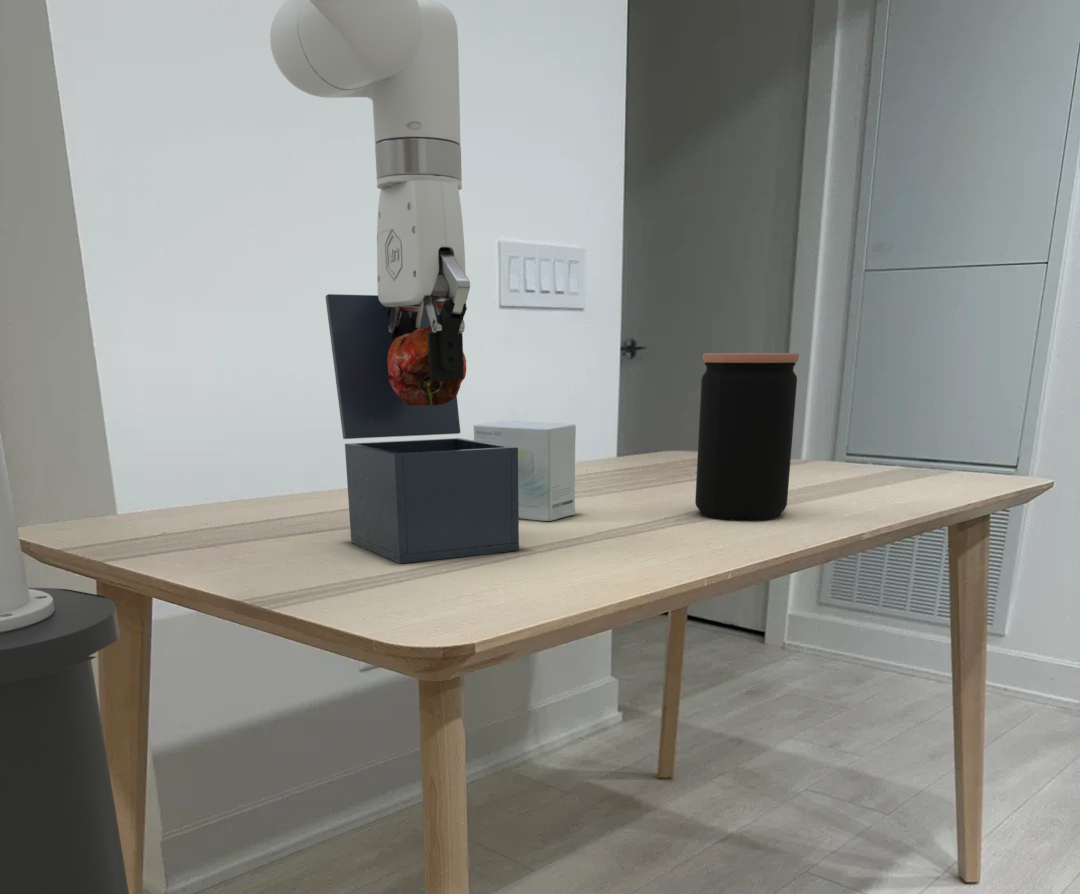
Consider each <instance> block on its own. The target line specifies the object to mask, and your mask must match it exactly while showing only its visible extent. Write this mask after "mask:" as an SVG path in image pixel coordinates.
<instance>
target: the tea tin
mask: <svg viewBox="0 0 1080 894" xmlns="http://www.w3.org/2000/svg"><path fill="white" fill-rule="evenodd" d="M344 449H345V450H344V454H345V466H346V482H347V483H346V484H347V498H348V512H349V515H348V516H349V526H350V528H349V529H350V540H351V541H350V543H352V544H354V545H356V546H359V547H361V548H363V549H365V550H368V551H370V552H373V553H374V554H377V555H379V556H382V557H384V558H386V559H388V560H391V561H393V562H396V563H398V564H400V565H401V564H409V563H420V562H428V561H437V560H446V559H454V558H465V557H475V556H482V555H492V554H499V553H508V552H517V551H520V529H519V528H520V525H519V521H520V518H519V511H518V448H517V447H511V446H505V445H499V444H493V443H486V442H480V441H474V439H468V438H467V439H466V438H461V437H454V438H453V437H452V438H451V437H450V438H433V439H432V438H431V439H429V438H428V439H413V440H412V439H410V440H391V441H390V440H389V441H370V442H369V441H367V442H351V443H350V442H349V443H344Z"/></svg>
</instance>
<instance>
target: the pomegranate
mask: <svg viewBox="0 0 1080 894" xmlns="http://www.w3.org/2000/svg"><path fill="white" fill-rule="evenodd" d="M428 333H433V331H432V328H431V327H420V328H418V329H417V330H415V331H414V332H412V333H406V334H404V335H402V336H399V337H397V338H396V339H395V340H394V341H393V342H392V344H391V346H390V349H389V352H388V357H387V361H388V375H389V382H390V385H391V387H392V389H393V391H394V392H395V394H396V395H398V396H399V397H400V398H401V399H402V400H403V401H404V402H405V403H406V404H408V405H413V406H414V405H431V408H432V405H436V406H437V405H441V404H444V403H447V402H449V401H451V400H452V399H454V398H455V397H456V396H457V397H458V394H459V391H460V388H461V385H462V382H463V381H464V379H465V378H466V375H467V359H466V355H465V352H463V373H464V376H463V378H462V379H461V380H431V379H430V376H429V353H428Z"/></svg>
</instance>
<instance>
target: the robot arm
mask: <svg viewBox="0 0 1080 894" xmlns="http://www.w3.org/2000/svg"><path fill="white" fill-rule="evenodd" d="M269 39H270V40H269V41H270V42H269V43H270V50H271V53H272V57H273V59H274V61H275V64H276V66H277V68H278V69H279V71H280V72H281V74H282V75H283V77H284V78H285V79H286V80H287V81H288V82H289V83H290V84H291V85H293V86H294V87H295V88H296V89H298V90H300V91H302V92H304V93H306V94H308V95H311V96H314V97H319V98H325V99H334V98H335V99H337V98H339V99H340V98H341V99H342V98H343V99H344V98H368V99H370V100H371V101H372V115H373V116H372V117H373V118H372V119H373V134H374V136H373V137H374V154H375V155H374V157H375V174H376V175H375V176H376V188H377V189H379V197H378V206H377V220H376V221H377V223H376V224H377V226H376V262H377V263H376V272H377V273H376V274H377V281H376V282H377V295H378V299H379V301H380V303H381V304H382V305H383V306H385V307H387V310H386V314H387V315H388V318H389V326H388V328H389V332H390V336H391V344H392V342H393V341H394V340H395V339H396V338H397V337H399V336H402V335H404V334H406V333H412V332H414V331H415V330H417V329H418V328H420V323H421V318H422V313H423V308H426V311H427V314H428V317H429V321H430V324H431V328H432V331H433V333H428V353H429V376H430V379H431V380H461V379H462V378H463V376H464V373H463V353H464V340H463V338H464V337H463V334H464V333H465V330H466V329H465V327H466V326H465V325H466V323H465V320H464V318H465V315H466V312H467V310H468V307H467V300H468V296H469V292H470V288H471V281H470V279H469V277H468V276H467V275H466V253H465V251H466V250H465V237H464V224H463V214H462V206H461V205H462V204H461V197H460V190H462V188H463V186H462V185H463V184H462V182H463V181H462V147H461V111H460V110H461V109H460V108H461V107H460V73H459V71H460V70H459V66H460V65H459V36H458V25H457V21H456V17H455V15H454V13H453V12H452V11H451V10H450V9H449V7H447V6H446V5H445V4H443V3H441V2H438V1H435V0H285V1H284V2H283V3H282V4H281V6H280V7H279V8H278V10H277V11H276V13H275V15H274V17H273V20H272V22H271V26H270V34H269ZM438 309H442V310H441V313H440V314H439V311H438ZM409 312H412V315H411V317H410V315H409ZM28 588H29V584H28V580H27V573H26V569H25V563H24V557H23V551H22V545H21V540H20V534H19V529H18V524H17V518H16V512H15V507H14V500H13V495H12V489H11V484H10V479H9V473H8V468H7V461H6V456H5V450H4V445H3V439H2V433H0V633H4V632H9V631H13V630H17V629H21V628H24V627H27V626H30V625H33V624H36V623H39V622H41V621H43V620H45V619H47V618H48V617H50V616H51V615H52V614H53V612H54V611H55V608H54V602H53V598H52V597H51V595H49V594H47V593H45V592H42V591H38V590H33V589H28Z"/></svg>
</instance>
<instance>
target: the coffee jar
mask: <svg viewBox="0 0 1080 894" xmlns="http://www.w3.org/2000/svg"><path fill="white" fill-rule="evenodd" d="M799 357H800V354H799V353H795V352H760V353H759V352H758V353H757V352H724V353H723V352H722V353H721V352H716V353H715V352H714V353H713V352H711V353H703V354H702V362H703V363H704V365H705V367H706V370H705V372H704V373H703V374H702V376H701V379H700V380H701V381H700V382H701V383H700V398H699V399H700V402H699V420H698V421H699V422H698V438H697V439H698V441H697V458H696V459H697V461H696V462H697V463H696V477H695V478H696V480H695V482H696V483H695V497H694V498H695V500H694V503H695V506H696V508H697V509H698V511H699V514H701V516H703V517H706V518H710V519H714V520H715V519H716V520H725V521H739V522H741V521H742V522H743V521H744V522H747V521H749V522H750V521H752V522H753V521H767V520H774V519H778V518H780V516H781V515H782V513H783V511H785V509H786V508H787V505H788V497H789V485H790V470H791V462H792V461H791V460H792V458H791V457H792V449H793V448H792V446H793V435H794V423H795V410H796V399H797V398H796V397H797V387H798V377H797V374H796V372H795V371H794V368H795V366H796V364H797V363H798V362H799Z"/></svg>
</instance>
